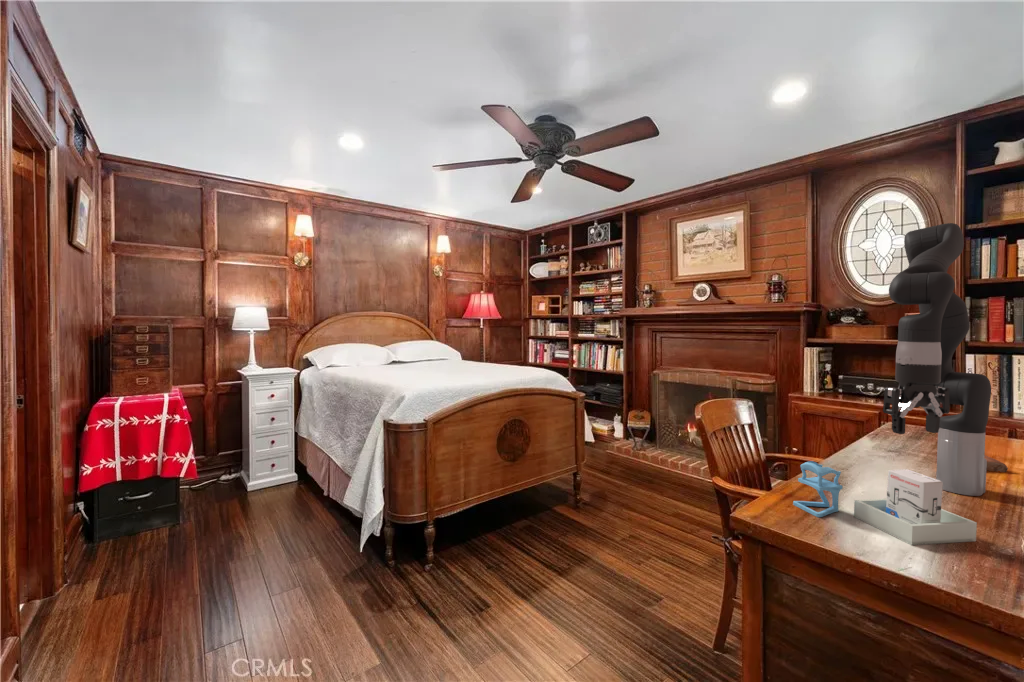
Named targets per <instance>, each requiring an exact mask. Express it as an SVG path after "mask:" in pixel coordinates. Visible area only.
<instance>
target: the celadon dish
mask: <svg viewBox="0 0 1024 682" xmlns="http://www.w3.org/2000/svg"><path fill="white" fill-rule="evenodd" d="M886 501H887V498H873V499H872V498H870V499H854V502H853V504H854V506H853V509H854V510H853V512H854V513H853V517H854V518H855V519H858V520H859V521H862V522H864V523H866V524H868V525H870V526H872V527H874V528H876V529H879V530H880V531H882V532H883V533H886V534H888V535H890V536H893V537H895V538H896V539H898V540H901V541H902V542H904V543H906V544H908V545H910V546H919V545H920V546H921V545H934V544H939V545H940V544H950V543H951V544H952V543H954V544H955V543H967V542H968V543H969V542H971V543H972V542H976V541H977V530H978V529H977V527H978V526H977V525H978V523H977V521H974V520H971V519H968V518H966V517H963V516H961V515H958V514H956V513H953V512H950V511H948V510H946V509H943V508H941V520H940V523H924V524H910V523H908V522H906V521H904V520H901V519H899V518H897V517H895V516H892V515H890V514H888V513H886Z"/></svg>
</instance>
